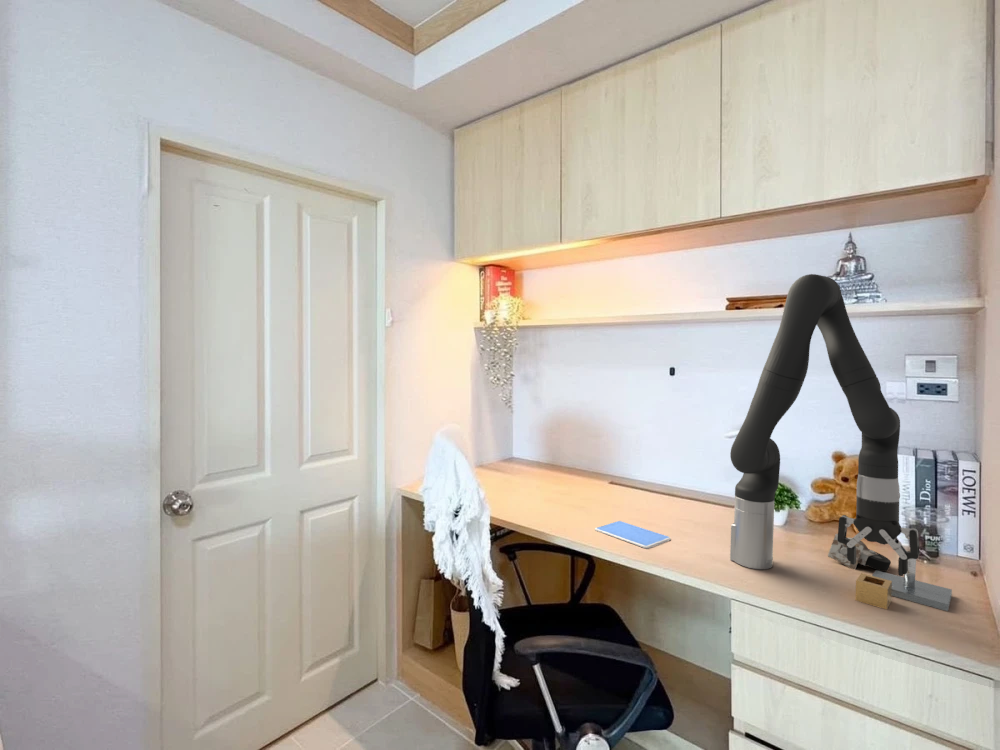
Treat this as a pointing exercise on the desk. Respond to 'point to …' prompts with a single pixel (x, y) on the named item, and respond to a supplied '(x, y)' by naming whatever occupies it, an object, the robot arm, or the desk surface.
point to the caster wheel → (858, 556)
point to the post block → (917, 588)
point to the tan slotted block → (873, 590)
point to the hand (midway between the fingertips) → (876, 569)
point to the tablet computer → (633, 534)
